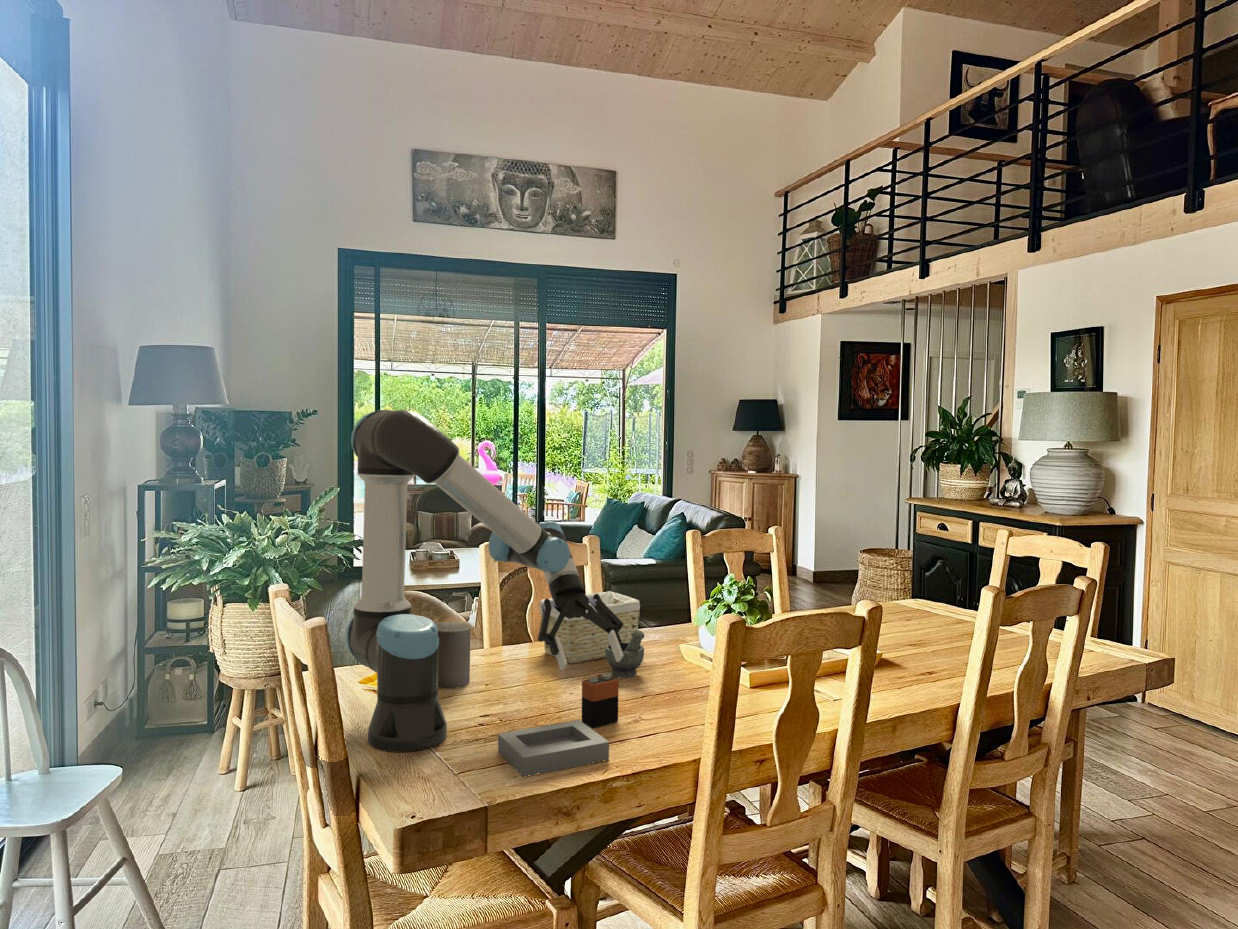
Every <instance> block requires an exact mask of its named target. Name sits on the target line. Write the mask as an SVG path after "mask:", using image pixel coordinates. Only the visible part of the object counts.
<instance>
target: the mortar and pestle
mask: <svg viewBox="0 0 1238 929" xmlns="http://www.w3.org/2000/svg"><path fill="white" fill-rule="evenodd" d="M633 634H634V635H633V637H632V639H631V641H630V642H629V643H628V642H621V644H620V647H621V649H622V652H623V655H624V656H623V657H622V659H621V660H620V662H616V659H615V657H614V654H613V651H612V649H611V646H610V644H609V645H606V646H605V654H606V657H605V658H606V661H607V663H608V665H609V666H610V668H612V669H611V674H612V677H615V676H616V677H615V678H618V677H620V678H619V679H629V678H628V677H631V678H635V677H636V676H638V674H637V668H639V667H640V666H641V664H642V663H643V661H644V655H645V648H644V645H642V644H641V643H642V640H643V639H644V638H645V633H644V632H643V631H642V630H639V629H638V630H635V631H634V633H633ZM635 675H636V676H635Z"/></svg>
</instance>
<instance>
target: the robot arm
mask: <svg viewBox="0 0 1238 929" xmlns="http://www.w3.org/2000/svg"><path fill="white" fill-rule="evenodd" d="M350 438H351V439H350V443H351V449H352V450H353V453H354V455H355V456H356V457H357V476H358V477H359V478H360V479H361V480H362V481H363V483H364V497H363V498H364V500H363V501H364V505H363V506H364V508H363V538H362V539H363V540H362V542H363V543H362V545H363V546H362V571H361V572H362V574H361V575H362V577H361V579H362V580H361V597H360V599H358V600H357V601H356V602H355V603H354V604H353V617H352V619H350V621H349V622H348V624H347V627H346V632H345V641H346V642H345V643H346V646H347V649H348V651H349V652H350V654H351V655H352V657H353V658H354V659H355V660H356V661H357V662H359V664H361V665H362V666H364V667H367V668H368V669H370V670H372V671H373V672H375V673H376V674H377V677H376V678H377V679H376V681H377V682H376V684H377V686H376V687H377V691H376V692H377V694H376V695H377V698H376V699H377V700H376V705H375V707H374V711H373V714H372V717H371V720H370V723H369V725H368V729H367V742H368V744H369V745H370V746H371V747H372V748H375V749H377V750H380V749H381V751H384V750H386V751H385V752H393V751H395V752H394V753H397V752H398V753H399V751H406V752H413V751H414V750H416V751H420V750H425V749H428V748H431V747H434V746H437V745H439V744H441V743H442V742H443V741H445V740H446V738H447V736H448V725H447V724H448V722H447V720H446V718H445V714H444V712H443V708H442V706H441V702H440V700H439V699H440V698H439V688H438V646H439V637H438V629H437V626H436V623H435V622H434V621H433V620H432V619H430V618H429V617H427V616H423V615H416V614H413V613H412V603H411V602H410V601H409V600H408V599H407V598H406V596H405V576H406V575H405V573H406V572H405V571H406V570H405V569H406V568H405V567H406V544H407V542H406V541H407V540H406V539H407V538H406V537H407V534H406V533H407V510H408V509H407V507H408V505H407V504H408V484H409V483H410V481H412V480H413V478H414V477H416V476H417V477H418V478H420V479H421V481H423V482H424V483H426V485H428V484H429V485H430V484H431V485H432V484H435V485H436V486H437V487H438V488H439V489H441V490H442V491H443V492H445V494H447V496H449V497H450V498H452V499H453V500H454V501H455V502H456V503H458V504H459V505H460V506H461V507H462V508H463V509H465V510H466V511H467V512H468V513H469V514H471V516H473V517H474V518H475V519H476V520H477V521H479V522H480V523H482V524H483V525H484V526H485V527H486V528H487V529H488V530H490V532H492V533H491V534H490V536H489V539H488V552H489V555H490V557H491V558H492V560H494V561H495V562H502V563H507V562H508V563H514V564H518V565H522V566H526V567H530V568H533V569H535V570H540V571H542V572H543V575H544V578H545V581H546V584H547V586H548V589H549V593H550V596H551V598H552V599H553V601H550V600H549V599H550V598H544V599H545V601H544V603H543V605H542V611H543V616H542V617H541V621H540V625H539V626H540V627H539V632H538V636H537V640H538V642H539V643H541V642H544V641H545V644H546V645H549V648H550V651H551V654H552V655H556V657H555V659H556V661H557V663H558V664H557V665H558V666H559V670H560V671H564V670H565V668H566V667H567V665H568V664H569V663H567V660H566V657H565V654H564V651H563V648H562V645H561V642H560V639H559V637H556V638H554V637H555V635H556V633H557V631H558V629H559V627H560V625H561V623H562V621H563V619H564V617H567V618H568V619H572V618H574V617H575V618H581V616H582V617H584V618H585V619H589V620H590V621H592V622H593V623H594V624H596V625H597V626H599V627H600V628H601V629H603V630H604V631H606V632H607V633H608V636H607V638H608V641H609V643H610V646H611V649H612V651H613V654H614V657H615V659H616V662H620V660H621V659H622V657H623V656H624V655H623V652H622V649H621V647H620V644H621V639H620V636H619V633H618V632H619V631H620V630H621V628H622V627H623V623H622V622H621V621H620V619H619V618H618V617H617V616H616V615H615V614H614V613H613V612H612V611H611V610H610V609H609V608H608V607H607V606H606V605H605V604H604V603H603V602H602V600H601V598H600V596H599V595H598V594H595V595H594V596H593V597H587V596H586V595H585V594H586V593H585V588H584V585H583V583H582V580H581V578H580V576H579V575H580V574H579V572H578V571H579V570H578V569H577V568H578V567H577V566H576V564H575V560H574V558H573V555H572V552H571V550H570V547H569V543H568V541H567V537H566V535H565V533H564V531H563V530H562V527H561V525H560V524H559V523H557V522H556V521H553V520H552V521H551V520H547V521H545V522H540V523H538V522H536V521H535V520H534V519H532V517H530V516H529V515H528V514H526V513H525V511H523V509H521V508H520V507H519V506H518V505H517V504H516V503H514V502H513V501H512V500H511V499H510V498H509V497H507V495H505V494H504V493H503V492H502V491H501V490H499V488H497V487H496V486H495V485H494V484H493V483H492V482H491V481H489V479H487V478H486V477H485V475H483V474H481V472H479V471H478V470H477V469H476V467H474V466H473V465H471V464H470V463H469V462H468V461H467V460H466V459H465V458H463V457H462V455H460V448H459V446H457V444H455V443H454V442H453V441H452V440H451V439H450V438H448V436H447V435H446V434H444V433H443V432H442V431H441V430H440V429H439V428H438V427H437V426H435V425H434V424H433V423H432V422H431V421H430V420H428V419H427V418H425V417H424V416H422V415H421V414H419V413H417V412H414V411H412V410H407V409H406V410H405V409H399V410H390V409H378V410H375V411H372V412H369V413H367V414H365V415H363V416H362V417H361V418H360V419H359V420H358V421H357V422H356V424H355V425H354V426H353V429H352V431H351V437H350ZM588 603H590V604H591V606H590V605H589V604H588ZM553 607H554V608H555V609H556V610H557V611H559V612H560V614H559V616H558V618H557V620H556V622H555V624H554V626H553V628H552V630H551V632H550V634H548V633H547V628H548V623H549V618H550V613H551V610H552V609H553ZM593 607H594V608H595V610H596V611H597V612H596V611H595V610H594V608H593ZM586 610H588V613H586V612H585V611H586ZM552 655H551V656H552ZM396 751H397V752H396ZM414 752H415V751H414Z"/></svg>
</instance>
